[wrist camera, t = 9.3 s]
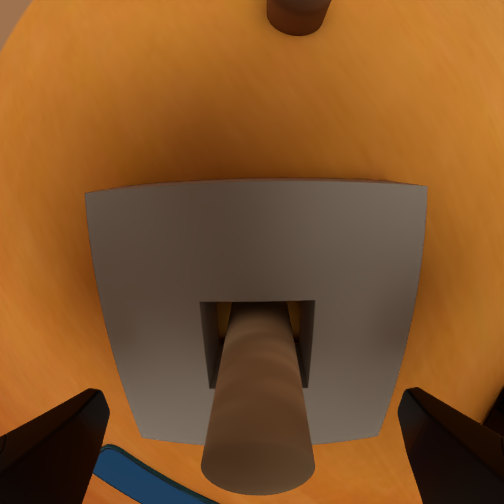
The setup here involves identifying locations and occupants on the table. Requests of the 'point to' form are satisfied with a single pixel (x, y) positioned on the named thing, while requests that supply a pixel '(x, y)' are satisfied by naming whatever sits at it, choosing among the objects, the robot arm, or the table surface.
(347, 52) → the table surface
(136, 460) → the smartphone
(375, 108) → the table surface
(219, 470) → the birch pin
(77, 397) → the robot arm
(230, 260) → the socket block
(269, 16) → the wenge pin
